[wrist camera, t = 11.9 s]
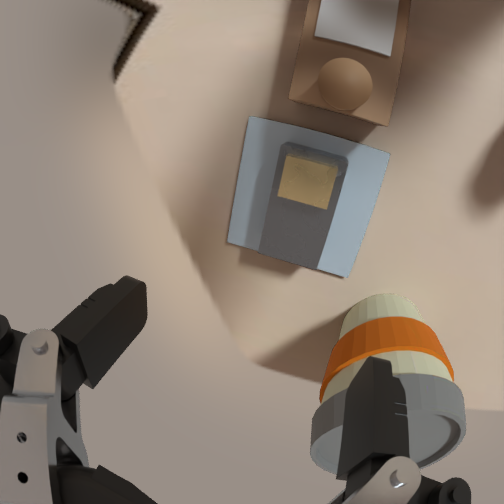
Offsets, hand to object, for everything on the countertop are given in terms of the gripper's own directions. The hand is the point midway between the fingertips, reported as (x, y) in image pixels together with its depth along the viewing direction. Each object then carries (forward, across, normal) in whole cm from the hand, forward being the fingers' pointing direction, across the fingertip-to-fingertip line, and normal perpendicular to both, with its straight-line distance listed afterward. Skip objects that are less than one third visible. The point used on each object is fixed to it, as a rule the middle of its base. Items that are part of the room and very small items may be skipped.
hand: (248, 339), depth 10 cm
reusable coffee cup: (+18, -12, +11) cm, 24 cm away
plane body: (+18, -1, -18) cm, 25 cm away
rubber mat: (+18, 0, 0) cm, 18 cm away
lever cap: (+17, 0, 0) cm, 17 cm away
